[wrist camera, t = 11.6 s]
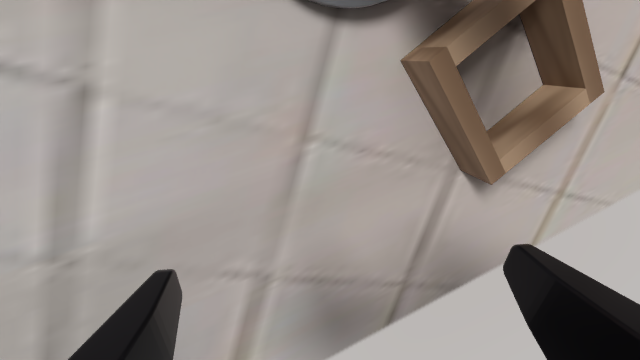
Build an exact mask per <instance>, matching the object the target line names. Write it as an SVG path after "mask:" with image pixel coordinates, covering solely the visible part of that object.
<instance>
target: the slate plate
mask: <svg viewBox="0 0 640 360" xmlns="http://www.w3.org/2000/svg"><path fill="white" fill-rule="evenodd" d="M308 1H311V2H314V3H317V4H320V5H323V6H328V7H333V8H347V9H353V8H361V7H368V6H371V5H374V4H378V3H381V2H384V1H387V0H308Z"/></svg>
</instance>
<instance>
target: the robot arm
mask: <svg viewBox="0 0 640 360" xmlns="http://www.w3.org/2000/svg"><path fill="white" fill-rule="evenodd" d="M503 271H504V275H505V277H506V279H507V281H508V283H509V285H510V288H511V290H512V292H513V294H514V297H515V299H516V301H517V303H518V305H519V308H520V310H521V312H522V314H523V316H524V319H525V321H526V323H527V325H528V327H529V329H530V330H531V332H532V334H533V336H534V337H535V339H536V341H537V343H538V344H539V346H540V348H541V350H542V351H543V353H544V355H545V357H546V358H547V360H640V305H639V304H638V303H636V302H634V301H632V300H630V299H629V298H627V297H625V296H623V295H621V294H619V293H618V292H616V291H614V290H612V289H610V288H608V287H607V286H604V285H603V284H601V283H599V282H598V281H596V280H594V279H592V278H590V277H588V276H587V275H585V274H583V273H581V272H579V271H578V270H576V269H574V268H572V267H570V266H568V265H567V264H565V263H563V262H561V261H559V260H558V259H556V258H554V257H552V256H550V255H549V254H547V253H545V252H543V251H541V250H539V249H538V248H536V247H534V246H532V245H530V244H519V245H514V246H513V247H512V248H511V250H510V252H509V254H508V256H507V258H506V261H505V263H504V265H503ZM181 303H182V290H181V287H180V284H179V281H178V277H177V274H176V272H175V270H173V269H167V270H158V271H156V272H154V273H153V274H152V275H151V276H150V277H149V278H148V279H147V280H146V281H145V282H144V283H143V284H142V285H141V286H140V287H139V288H138V289H137V290H136V291H135V292H134V293H133V294H132V295H131V296H130V297H129V298H128V299H127V300H126V301H125V302H124V303H123V304H122V305H121V306H120V307H119V308H118V309H117V310H116V312H115V313H114V314H113V315H112V316H111V317H110V318H109V319H108V320H107V321H106V322H105V323H104V324H103V325H102V326H101V327H100V328H99V329H98V330H97V331H96V332H95V333H94V334H93V335H92V336H91V337H90V338H89V339H88V340H87V341H86V342H85V343H84V344H83V345H82V346H81V347H80V348H79V349H78V350H77V351H76V352H75V353H74V354H73V355H72V356H71V357H70V358H69V359H68V360H173V355H174V349H175V343H176V336H177V329H178V323H179V316H180V309H181Z"/></svg>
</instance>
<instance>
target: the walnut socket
mask: <svg viewBox="0 0 640 360" xmlns="http://www.w3.org/2000/svg"><path fill="white" fill-rule="evenodd" d="M518 14H520V16H521V19H522V22H523V25H524V28H525V31H526V34H527V37H528V40H529V43H530V46H531V49H532V52H533V55H534V58H535V61H536V64H537V67H538V70H539V73H540V76H541V79H542V82H543V86H541V87H540V88H539V89H538V90H537V91H535V92H534V93H533V94H532V95H530V96H529V97H528V98H527V99H526V100H524V101H523V102H522V103H521V104H520V105H518V106H517V107H516V108H515V109H513V110H512V111H511V112H510V113H509V114H507V115H506V116H505V117H504V118H503V119H501V120H500V121H499V122H498V123H497V124H495V125H494V126H493V127H492V128H490V129H489V130H488V131H487V132H486V130H485V127H484V125H483V123H482V121H481V119H480V117H479V114H478V112H477V110H476V108H475V106H474V104H473V102H472V99H471V97H470V95H469V93H468V91H467V89H466V87H465V84H464V82H463V80H462V78H461V76H460V74H459V72H458V69H457V67H456V66H457V65H458V64H459V63H460V62H462V61H463V60H464V59H465V58H466V57H468V56H469V55H470V54H471V53H472V52H474V51H475V50H476V49H477V48H478V47H480V46H481V45H482V44H483V43H485V42H486V41H487V40H488V39H489V38H491V37H492V36H493V35H494V34H495V33H497V32H498V31H499V30H500V29H501V28H503V27H504V26H505V25H506V24H508V23H509V22H510V21H511V20H512V19H514V18H515V17H516V16H517V15H518ZM401 62H402V64H403V66H404V68H405V70H406V71H407V73H408V75H409V77H410V79H411V81H412V82H413V84H414V86H415V88H416V90H417V91H418V93H419V95H420V97H421V99H422V101H423V102H424V104H425V106H426V108H427V110H428V111H429V113H430V115H431V117H432V119H433V121H434V122H435V124H436V126H437V128H438V130H439V132H440V133H441V135H442V137H443V139H444V141H445V142H446V144H447V146H448V148H449V150H450V152H451V153H452V155H453V157H454V159H455V161H456V162H457V164H458V166H459V168H460V170H461V171H463V172H466V173H468V174H470V175H472V176H474V177H476V178H478V179H480V180H482V181H484V182H486V183H489V184H491V185H492V184H493V183H494V182H496V181H497V180H498V179H499V178H500V177H502V176H503V175H504V174H505V173H506V172H508V171H509V170H510V169H511V168H513V167H514V166H515V165H516V164H517V163H519V162H520V161H521V160H522V159H523V158H525V157H526V156H527V155H528V154H530V153H531V152H532V151H533V150H534V149H536V148H537V147H538V146H539V145H540V144H542V143H543V142H544V141H545V140H547V139H548V138H549V137H550V136H551V135H553V134H554V133H555V132H556V131H557V130H559V129H560V128H561V127H562V126H564V125H565V124H566V123H567V122H568V121H570V120H571V119H572V118H573V117H574V116H576V115H577V114H578V113H579V112H581V111H582V110H583V109H584V108H585V107H587V106H588V105H589V104H590V103H591V102H593V101H594V100H595V99H596V98H598V97H599V96H600V95H601V94H602V93H604V88H603V84H602V80H601V76H600V72H599V68H598V63H597V59H596V55H595V51H594V47H593V43H592V38H591V34H590V30H589V26H588V22H587V18H586V13H585V9H584V5H583V1H582V0H473V1H472V2H471V3H469V4H468V5H467V6H466V7H464V8H463V9H462V10H461V11H460V12H458V13H457V14H456V15H455V16H454V17H452V18H451V19H450V20H449V21H448V22H446V23H445V24H444V25H443V26H442V27H440V28H439V29H438V30H437V31H436V32H434V33H433V34H432V35H431V36H429V37H428V38H427V39H426V40H425V41H423V42H422V43H421V44H420V45H419V46H417V47H416V48H415V49H414V50H413V51H411V52H410V53H409V54H408V55H407V56H405V57H404V58H403V59H402V60H401Z"/></svg>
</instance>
